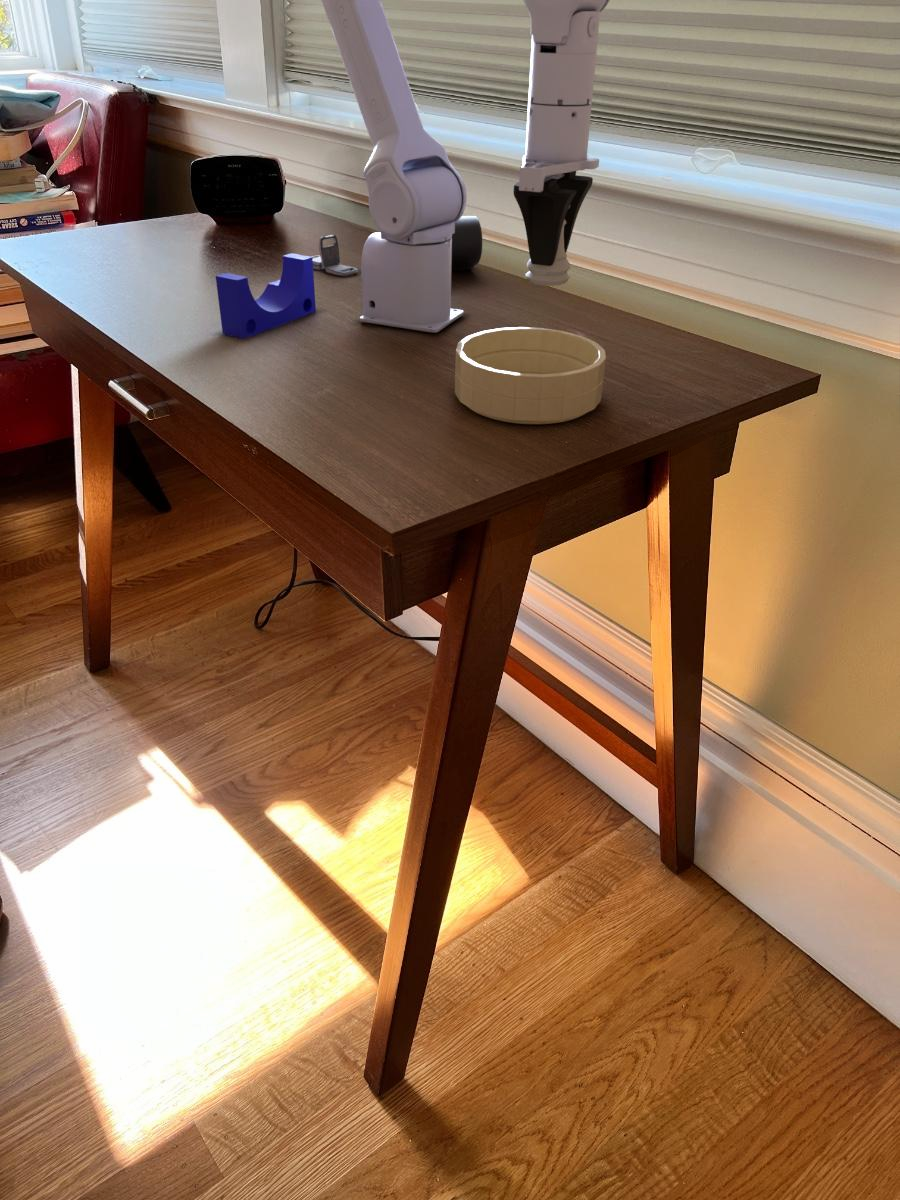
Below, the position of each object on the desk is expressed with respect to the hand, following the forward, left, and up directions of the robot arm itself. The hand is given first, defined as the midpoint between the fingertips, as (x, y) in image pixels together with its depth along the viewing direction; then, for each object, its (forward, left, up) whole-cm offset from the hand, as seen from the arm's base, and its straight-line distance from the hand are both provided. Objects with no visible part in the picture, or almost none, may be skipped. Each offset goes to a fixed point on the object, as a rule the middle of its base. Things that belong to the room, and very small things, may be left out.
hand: (548, 259), depth 89 cm
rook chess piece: (0, 0, -2) cm, 2 cm away
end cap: (-23, +25, -9) cm, 35 cm away
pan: (+3, -13, -9) cm, 17 cm away
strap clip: (-36, +19, -9) cm, 41 cm away
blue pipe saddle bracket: (-31, -4, -9) cm, 32 cm away
